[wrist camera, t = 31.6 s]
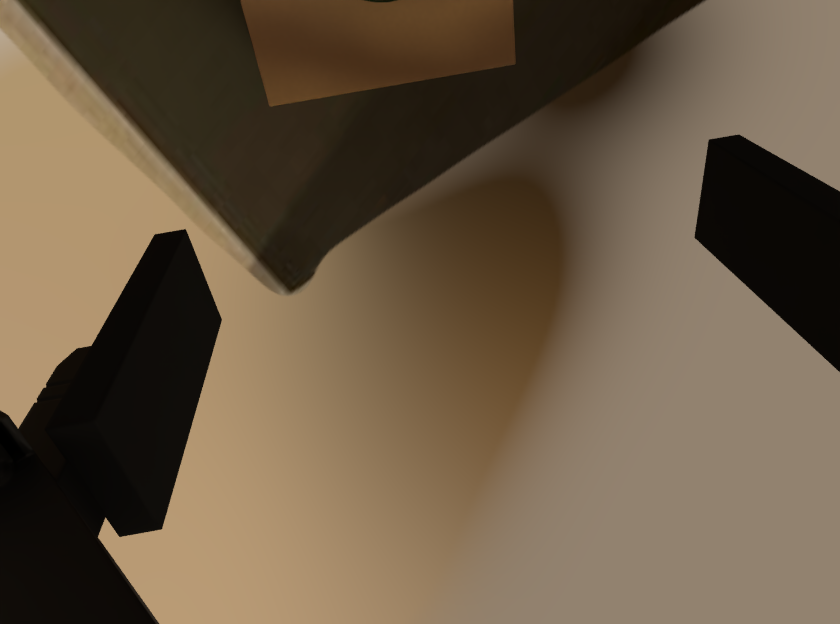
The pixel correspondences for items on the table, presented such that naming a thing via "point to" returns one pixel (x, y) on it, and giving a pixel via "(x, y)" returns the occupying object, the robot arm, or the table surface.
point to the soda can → (380, 0)
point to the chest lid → (373, 43)
